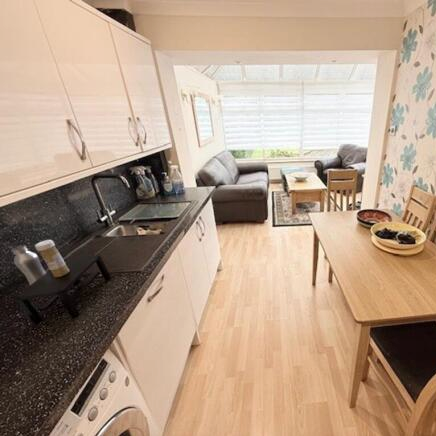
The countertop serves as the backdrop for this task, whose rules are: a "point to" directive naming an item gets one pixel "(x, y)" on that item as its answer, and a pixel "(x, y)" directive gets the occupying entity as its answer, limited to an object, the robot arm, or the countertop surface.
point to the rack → (61, 286)
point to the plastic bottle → (28, 263)
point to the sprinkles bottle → (52, 258)
